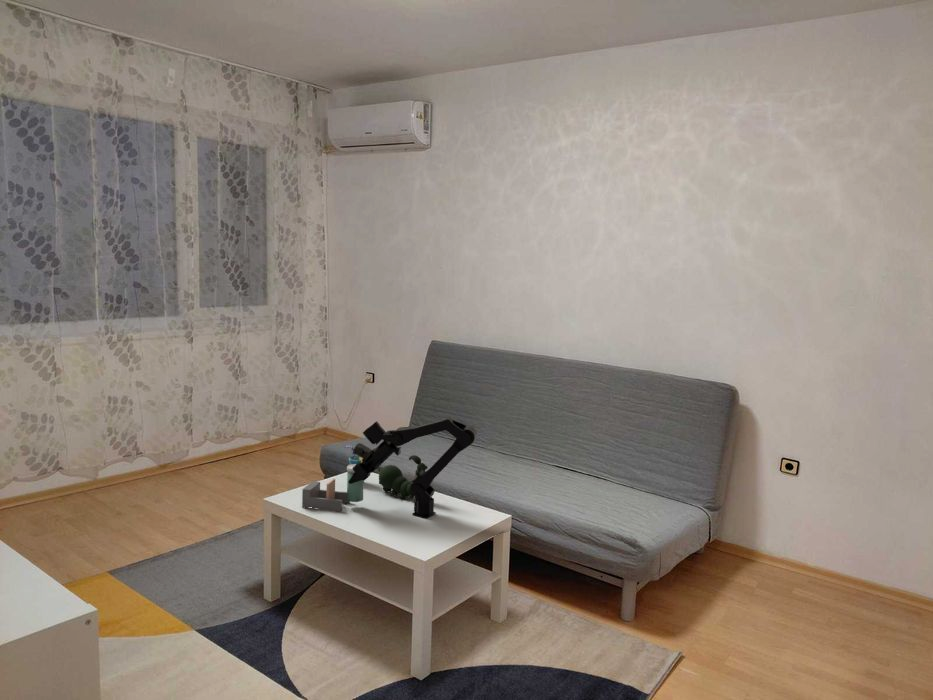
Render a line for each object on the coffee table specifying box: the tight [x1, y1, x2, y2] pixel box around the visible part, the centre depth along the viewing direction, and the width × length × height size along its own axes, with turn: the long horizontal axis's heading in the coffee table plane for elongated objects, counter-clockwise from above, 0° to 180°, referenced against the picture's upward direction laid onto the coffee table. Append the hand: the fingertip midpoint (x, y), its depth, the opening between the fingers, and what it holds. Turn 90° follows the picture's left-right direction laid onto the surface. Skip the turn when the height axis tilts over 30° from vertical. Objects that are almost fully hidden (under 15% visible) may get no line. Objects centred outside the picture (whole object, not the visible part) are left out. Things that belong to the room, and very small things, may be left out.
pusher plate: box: [326, 478, 336, 499], centre depth 253 cm, size 1×7×9 cm, turn 171°
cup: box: [345, 445, 363, 465], centre depth 281 cm, size 14×8×15 cm, turn 46°
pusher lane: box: [301, 480, 351, 512], centre depth 253 cm, size 15×10×7 cm, turn 81°
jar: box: [346, 464, 365, 503], centre depth 251 cm, size 6×6×12 cm
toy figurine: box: [376, 454, 429, 500], centre depth 268 cm, size 9×19×25 cm
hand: (351, 480), depth 251 cm, fingers closed on jar, 6 cm apart
